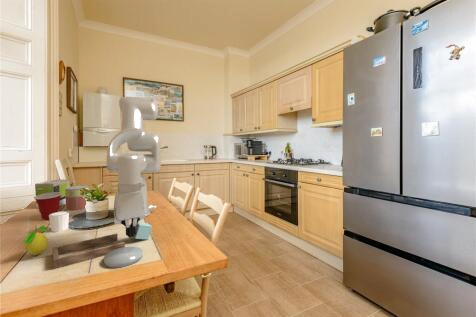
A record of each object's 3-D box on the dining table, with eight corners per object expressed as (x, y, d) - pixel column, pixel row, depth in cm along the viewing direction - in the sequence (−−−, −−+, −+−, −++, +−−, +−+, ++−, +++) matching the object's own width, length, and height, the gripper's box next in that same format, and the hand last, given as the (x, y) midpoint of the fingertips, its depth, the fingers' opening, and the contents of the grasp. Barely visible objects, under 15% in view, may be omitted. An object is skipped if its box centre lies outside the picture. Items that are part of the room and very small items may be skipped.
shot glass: (58, 233, 94) (57, 216, 94) (45, 231, 95) (44, 215, 95) (73, 227, 101) (73, 211, 100) (60, 226, 102) (60, 210, 102)
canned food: (82, 204, 139) (81, 185, 138) (93, 207, 134) (93, 186, 133) (61, 209, 129) (60, 188, 128) (73, 212, 124) (72, 190, 123)
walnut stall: (116, 239, 88) (116, 233, 88) (124, 249, 79) (124, 242, 79) (52, 255, 75) (52, 247, 75) (54, 269, 67) (53, 260, 67)
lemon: (48, 248, 80) (47, 220, 79) (52, 254, 76) (51, 224, 76) (22, 255, 75) (20, 226, 74) (25, 261, 71) (23, 230, 70)
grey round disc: (136, 247, 81) (136, 243, 81) (147, 259, 73) (147, 255, 73) (100, 257, 74) (100, 253, 74) (108, 272, 66) (108, 267, 65)
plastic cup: (29, 220, 110) (28, 195, 109) (54, 214, 120) (53, 191, 119) (43, 223, 106) (42, 197, 105) (68, 216, 116) (67, 193, 115)
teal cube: (143, 235, 92) (147, 223, 93) (148, 239, 88) (152, 226, 89) (130, 234, 89) (135, 221, 89) (135, 238, 85) (139, 225, 86)
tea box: (54, 202, 144) (53, 179, 143) (71, 202, 145) (70, 179, 144) (35, 209, 129) (34, 183, 128) (54, 208, 130) (53, 182, 129)
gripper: (146, 184, 92) (147, 229, 93) (104, 189, 83) (105, 238, 84) (153, 187, 87) (154, 234, 88) (109, 192, 77) (110, 245, 78)
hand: (130, 236), depth 86 cm, fingers closed
